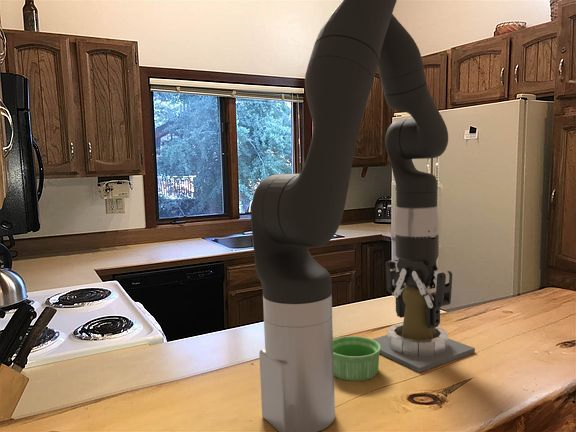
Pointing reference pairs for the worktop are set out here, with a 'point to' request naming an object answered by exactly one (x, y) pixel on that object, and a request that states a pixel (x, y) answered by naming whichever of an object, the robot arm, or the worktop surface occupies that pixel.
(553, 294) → the worktop surface
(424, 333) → the cork
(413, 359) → the fitting mat
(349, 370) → the ramekin
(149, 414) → the worktop surface
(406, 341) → the ring collar
